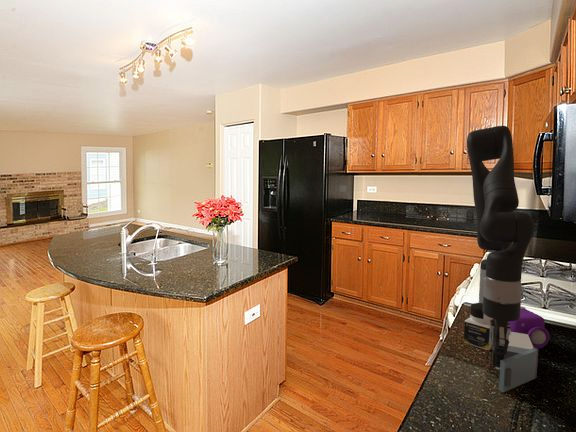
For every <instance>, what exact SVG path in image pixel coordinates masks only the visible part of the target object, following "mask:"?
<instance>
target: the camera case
mask: <svg viewBox="0 0 576 432" xmlns="http://www.w3.org/2000/svg"><path fill="white" fill-rule="evenodd" d="M532 348H534V347H533V345H532V343H531V341H530V338H529V336H528V334H522V333H516V332H511V333H510V335H509V344H508V348H507V354H506V355H504V359H506V358H509V357H511V356H514V355H517V354H519V353H522V352H525V351H528V350H530V349H532ZM495 370H498V371H500V368H499V367H495Z"/></svg>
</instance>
